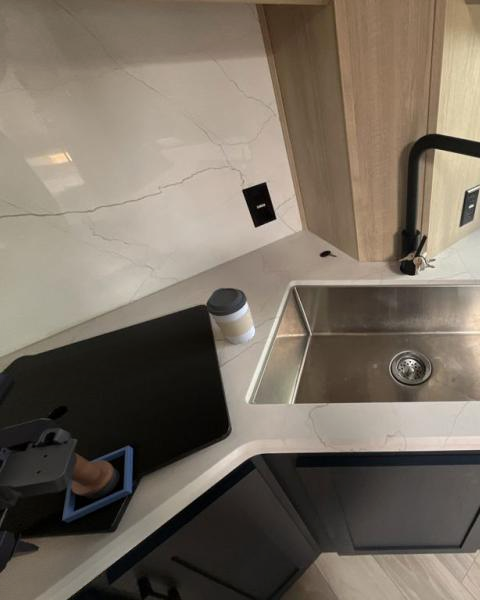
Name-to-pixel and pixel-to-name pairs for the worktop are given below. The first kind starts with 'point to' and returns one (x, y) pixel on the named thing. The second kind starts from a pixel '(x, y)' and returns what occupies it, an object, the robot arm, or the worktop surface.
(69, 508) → the blue square frame
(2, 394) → the robot arm
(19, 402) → the worktop surface
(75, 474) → the dish brush
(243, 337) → the coffee cup
